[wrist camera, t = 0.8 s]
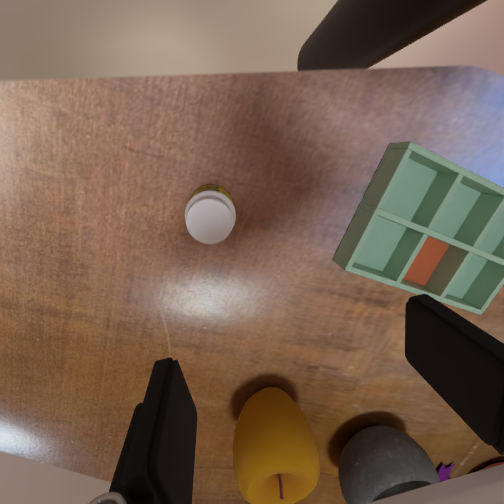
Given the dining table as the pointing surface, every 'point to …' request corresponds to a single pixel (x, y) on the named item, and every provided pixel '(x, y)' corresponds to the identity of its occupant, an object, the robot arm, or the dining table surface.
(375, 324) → the dining table surface
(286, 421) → the apple
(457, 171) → the tray
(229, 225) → the supplement bottle
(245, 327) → the dining table surface
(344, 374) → the dining table surface
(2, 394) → the dining table surface
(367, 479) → the bowl
